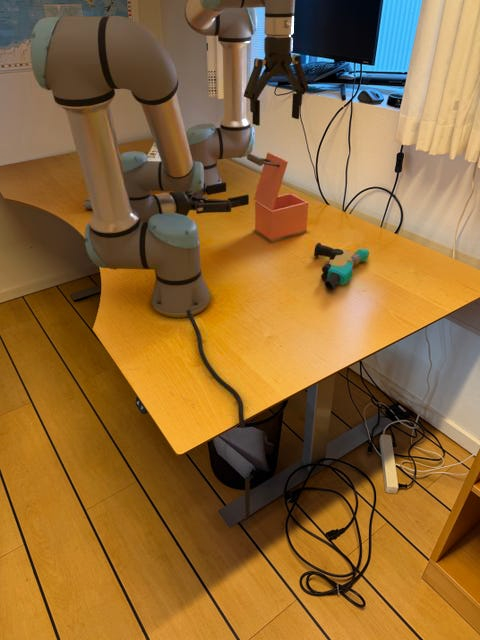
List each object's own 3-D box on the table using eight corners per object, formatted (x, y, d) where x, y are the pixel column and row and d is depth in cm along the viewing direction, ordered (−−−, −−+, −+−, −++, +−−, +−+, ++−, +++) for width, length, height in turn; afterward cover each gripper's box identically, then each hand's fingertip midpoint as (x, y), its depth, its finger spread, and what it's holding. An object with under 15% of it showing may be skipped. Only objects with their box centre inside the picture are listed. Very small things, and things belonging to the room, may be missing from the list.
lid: (270, 152, 147) (246, 147, 142) (288, 161, 140) (263, 156, 135) (256, 199, 154) (233, 196, 148) (273, 210, 147) (249, 207, 142)
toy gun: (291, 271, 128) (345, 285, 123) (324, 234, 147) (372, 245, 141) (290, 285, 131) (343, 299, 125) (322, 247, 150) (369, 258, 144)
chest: (289, 221, 166) (290, 192, 159) (306, 232, 159) (308, 202, 153) (254, 231, 160) (255, 201, 154) (270, 242, 153) (271, 211, 147)
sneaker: (133, 173, 208) (129, 144, 201) (161, 153, 230) (158, 127, 223) (155, 175, 205) (151, 146, 198) (180, 155, 227) (178, 129, 220)
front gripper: (156, 205, 146) (217, 193, 154) (191, 233, 128) (258, 217, 136) (153, 181, 141) (216, 170, 150) (189, 206, 123) (258, 192, 132)
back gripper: (245, 40, 117) (245, 130, 129) (325, 34, 127) (318, 118, 139) (230, 37, 122) (232, 124, 135) (308, 32, 132) (303, 113, 145)
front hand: (236, 192), depth 143 cm, fingers open, 13 cm apart
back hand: (276, 121), depth 137 cm, fingers open, 13 cm apart
